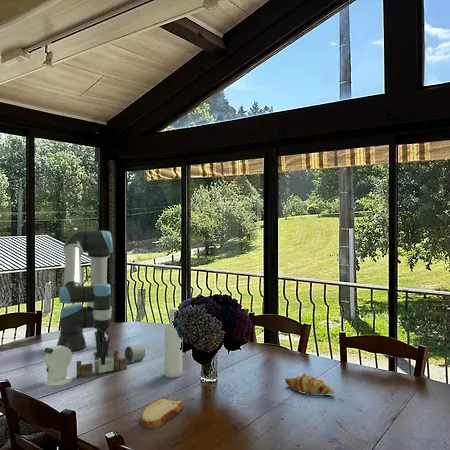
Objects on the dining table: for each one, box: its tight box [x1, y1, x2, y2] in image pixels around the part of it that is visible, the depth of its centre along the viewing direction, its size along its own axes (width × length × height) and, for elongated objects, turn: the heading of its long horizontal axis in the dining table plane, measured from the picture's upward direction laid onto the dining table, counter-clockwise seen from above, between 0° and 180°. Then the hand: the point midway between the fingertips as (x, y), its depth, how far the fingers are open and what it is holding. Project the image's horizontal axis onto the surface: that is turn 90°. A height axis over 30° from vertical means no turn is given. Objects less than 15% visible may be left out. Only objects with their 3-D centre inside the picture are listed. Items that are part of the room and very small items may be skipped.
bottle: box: [163, 307, 183, 379], centre depth 200 cm, size 8×8×30 cm
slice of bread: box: [140, 398, 185, 429], centre depth 158 cm, size 18×18×4 cm
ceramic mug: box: [124, 344, 146, 363], centre depth 221 cm, size 11×8×8 cm
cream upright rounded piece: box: [43, 343, 73, 387], centre depth 191 cm, size 12×11×15 cm
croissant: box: [285, 373, 335, 395], centre depth 182 cm, size 21×10×8 cm, turn 57°
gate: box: [93, 356, 114, 375], centre depth 202 cm, size 8×2×6 cm, turn 126°
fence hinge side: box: [113, 349, 127, 372], centre depth 206 cm, size 2×6×10 cm, turn 125°
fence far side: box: [76, 360, 94, 379], centre depth 197 cm, size 2×7×7 cm, turn 124°
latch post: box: [93, 351, 99, 361], centre depth 202 cm, size 2×2×9 cm
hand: (102, 371), depth 198 cm, fingers closed
